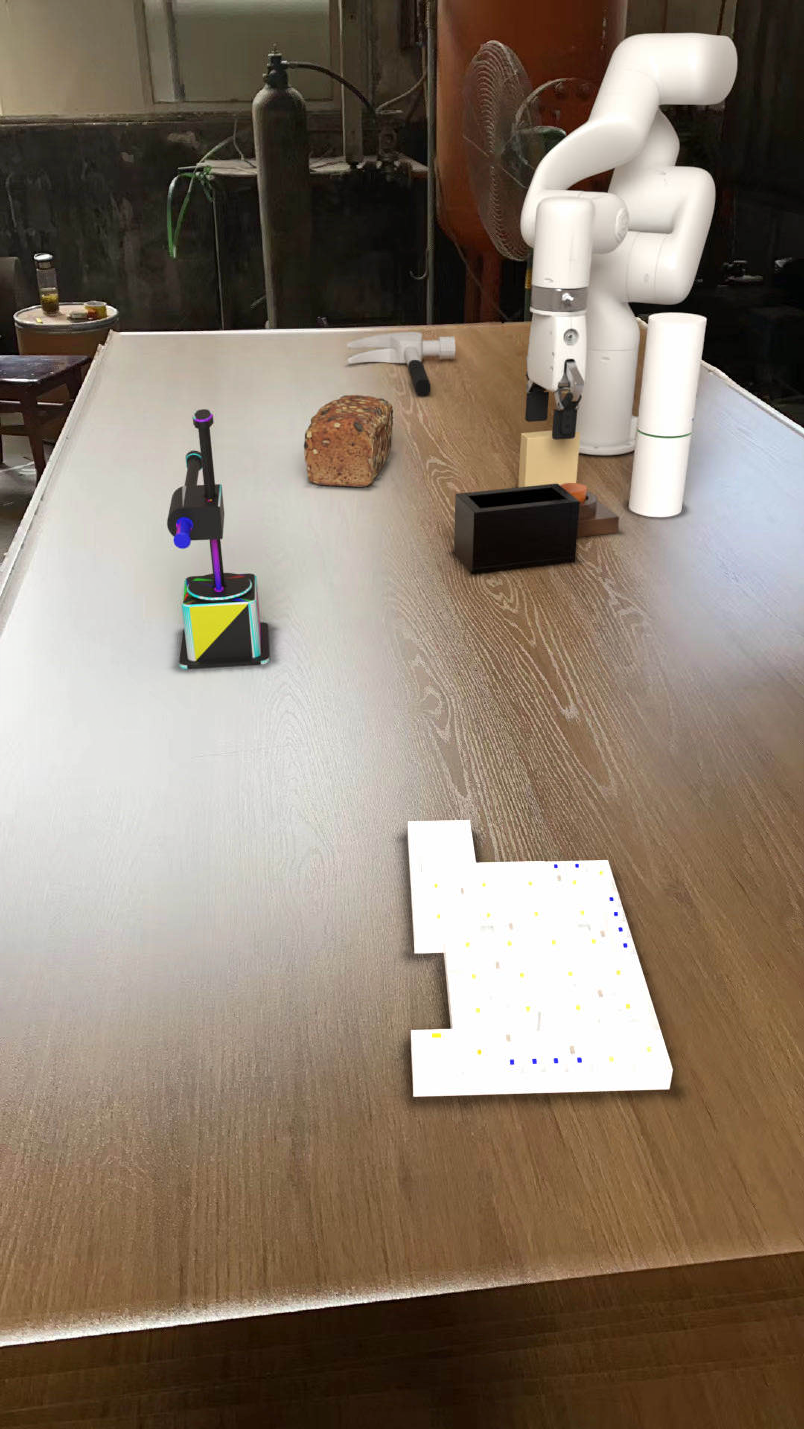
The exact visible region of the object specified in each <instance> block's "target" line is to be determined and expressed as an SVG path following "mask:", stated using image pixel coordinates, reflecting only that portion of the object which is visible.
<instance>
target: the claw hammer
mask: <svg viewBox="0 0 804 1429" xmlns="http://www.w3.org/2000/svg"><path fill="white" fill-rule="evenodd" d="M455 338H456V337H455V336H438V339H434V340H432V339H431V340H429V339H428V340H423V334H422V332H420V331H400V332H398V331H396V332H390V333H381V334H375V335H369V336H366V337H362V338H359V339H356V340H352V341H350V342H348V343H347V349H349V350H359V349H370V350H367V351H363V352H359V353H357V354H354V355H352V356H349V358H348V359H347V364H359V363H388V364H389V363H390V364H406V365H407V368H408V374H409V375H410V378H411V381H412V385H413V388H414V390H415V392H416V395H418V396H420V397H426V396H429V394H430V392H431V382H430V379H429V377H428V375H427V372H426V369H425V367H424V364H423V362H422V361H423V357H438V359H439V360H454V359H455V357H456V348H457V346H456V339H455Z"/></svg>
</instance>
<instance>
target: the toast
mask: <svg viewBox="0 0 804 1429" xmlns="http://www.w3.org/2000/svg"><path fill="white" fill-rule="evenodd" d="M579 443H580V433H579V432H577V431H576V432H575V437H574V438H572V439H559V440H555V439H553V438H552V430H541V431H532V432H522V433H520V447H519V448H520V449H519V464H518V466H519V467H518V487H527V486H537V485H546V484H556V483H557V484H559V485H562V484H565V483H577V479H578V466H579V454H580V453H579Z"/></svg>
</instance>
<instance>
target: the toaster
mask: <svg viewBox="0 0 804 1429" xmlns="http://www.w3.org/2000/svg"><path fill="white" fill-rule="evenodd" d="M454 496H455V497H454V540H453V542H454V543H453V547H454V548H453V554H454V555H455V556H456V558H457V559H458V560H459V561H460V562H461V563H462V564H463V566H464V567H465V568H466V569H467V570H468V572H470V574H471V575H478V574H479V575H480V574H488V573H496V572H505V571H511V570H512V571H514V570H520V569H528V568H538V567H546V566H553V565H561V564H571V563H575V562H576V556H577V554H576V553H577V543H578V537H577V532H578V520H579V508H580V501H579V500H578V499H576V498H575V497H574V496H573V495H571V494H570V493H569V492H568V491H566V490H565V489H564V488H563V487H561V486H560V485H559V484H557V483H556V484H546V485H537V486H527V487H508V488H507V487H506V488H500V489H489V490H488V489H487V490H479V491H472V492H459V493H455V495H454Z"/></svg>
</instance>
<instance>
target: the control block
mask: <svg viewBox="0 0 804 1429" xmlns="http://www.w3.org/2000/svg"><path fill="white" fill-rule="evenodd" d="M619 521H620V516H618V515H617V514H616V513H615V512H613V511H612V510H611V509H610V508H608V507H607V506H605V504H603V503H602V502H600V501H599V497H598V496H597V495H595V494H594V493H593V492H590V491H587V493H586V501H584V502H580V508H579V520H578V532H577V538H584V537H590V536H591V537H592V536H601V535H608V534H609V535H611V534H617V533H618V531H619Z"/></svg>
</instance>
